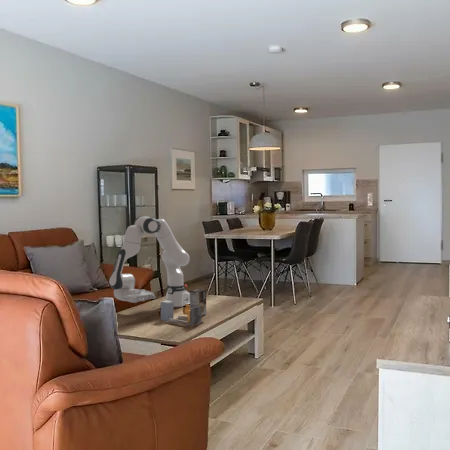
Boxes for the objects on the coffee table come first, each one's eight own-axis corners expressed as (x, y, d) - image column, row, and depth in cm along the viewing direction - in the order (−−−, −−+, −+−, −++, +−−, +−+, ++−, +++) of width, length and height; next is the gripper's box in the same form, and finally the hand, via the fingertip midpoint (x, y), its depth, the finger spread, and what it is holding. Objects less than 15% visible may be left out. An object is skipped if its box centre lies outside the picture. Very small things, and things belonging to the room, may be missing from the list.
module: (166, 318, 322) (166, 300, 321) (173, 319, 318) (173, 301, 318) (160, 319, 318) (160, 301, 317) (168, 321, 314) (168, 302, 313)
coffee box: (199, 312, 336) (200, 288, 335) (206, 314, 332) (206, 289, 330) (189, 315, 330) (189, 290, 329) (196, 317, 325) (196, 291, 324)
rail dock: (180, 318, 321) (180, 301, 320) (203, 322, 311) (203, 305, 310) (165, 323, 309) (165, 305, 309) (189, 328, 299) (189, 309, 298)
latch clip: (193, 321, 310) (193, 308, 309) (195, 321, 309) (195, 309, 308) (187, 323, 305) (187, 310, 304) (189, 324, 304) (189, 310, 303)
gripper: (122, 293, 324) (138, 296, 316) (145, 288, 341) (160, 291, 333) (122, 303, 324) (138, 306, 316) (144, 298, 341) (160, 301, 333)
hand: (149, 298), depth 325 cm, fingers open, 8 cm apart
